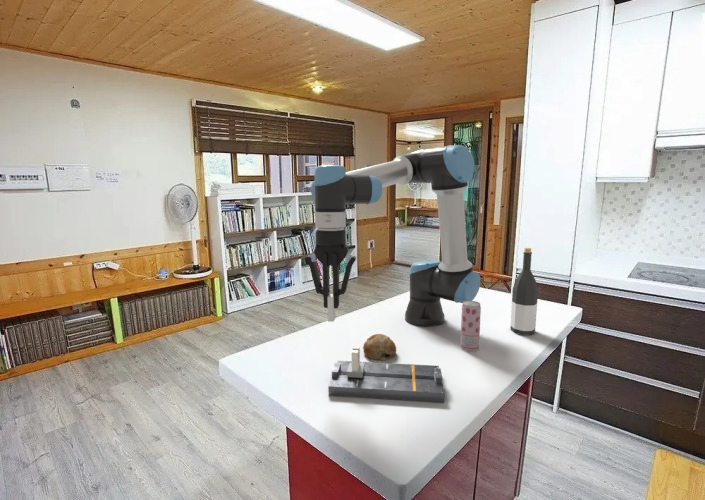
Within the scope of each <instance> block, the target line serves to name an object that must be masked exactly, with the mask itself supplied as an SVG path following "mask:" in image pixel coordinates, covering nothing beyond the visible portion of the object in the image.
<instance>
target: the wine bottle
mask: <svg viewBox="0 0 705 500" xmlns="http://www.w3.org/2000/svg"><path fill="white" fill-rule="evenodd" d="M522 254H523V258H522V261H523V262H522V270H521V271H520V273H519V274H518V276H517V277H516V278H515V281H514V283H513V287H512V294H511V295H512V296H511V297H512V298H511V311H510V313H511V314H510V327H509V328H510V330H511V332H513V333H514V334H518V335H521V336H532V335H534V334H535V333H536V326H537V322H536V321H537V310H538V297H539V288H538V284H537V281H536V278H535V276H534V275H533V272H532V270H531V269H532V267H531V266H532V255H533V252H532V248H531V247H524V251H523V253H522Z"/></svg>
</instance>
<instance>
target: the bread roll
mask: <svg viewBox="0 0 705 500" xmlns="http://www.w3.org/2000/svg"><path fill="white" fill-rule="evenodd" d="M362 349H363V354H364V355H365V356H366V357H367V358H369V359H371V360H375V361H386V360H389V359H391V358H393V357H394V356H396V354H397V346H396V343H395V342H394V341H393V340H392V339H391V337H390V336H387V335H386V334H383V333H376V334H373V335H371V336H369V337H368V338H367V339H366V341H365V342H364V344H363V347H362Z"/></svg>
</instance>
